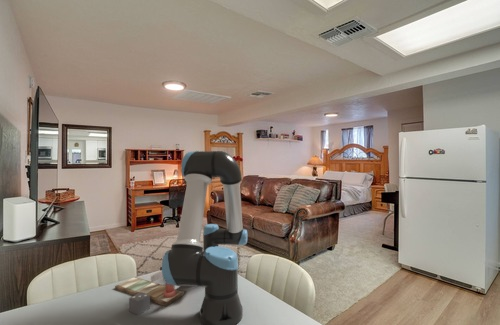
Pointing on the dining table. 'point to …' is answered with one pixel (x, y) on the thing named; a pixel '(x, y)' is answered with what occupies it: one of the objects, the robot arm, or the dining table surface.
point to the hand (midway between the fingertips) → (162, 282)
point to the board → (148, 290)
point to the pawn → (169, 291)
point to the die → (139, 303)
